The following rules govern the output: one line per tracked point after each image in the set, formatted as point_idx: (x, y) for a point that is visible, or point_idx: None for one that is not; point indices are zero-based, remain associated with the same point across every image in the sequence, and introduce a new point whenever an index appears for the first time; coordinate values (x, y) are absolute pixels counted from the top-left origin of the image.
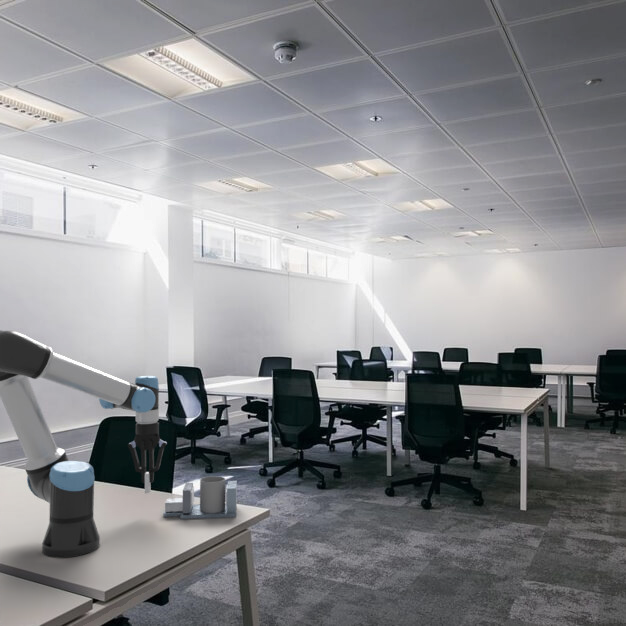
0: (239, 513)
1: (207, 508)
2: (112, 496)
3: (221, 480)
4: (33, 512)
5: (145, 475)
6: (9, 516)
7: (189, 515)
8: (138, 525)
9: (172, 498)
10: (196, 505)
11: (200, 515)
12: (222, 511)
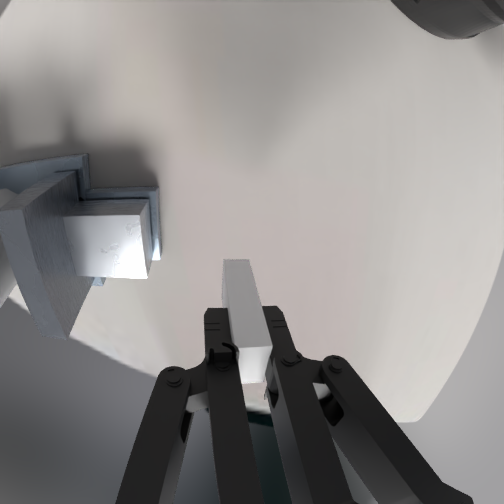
0: None
1: (2, 195)
2: None
3: None
4: (474, 276)
5: (263, 337)
6: (498, 257)
7: (53, 159)
8: (252, 88)
9: (123, 275)
10: None
11: (24, 163)
12: None
